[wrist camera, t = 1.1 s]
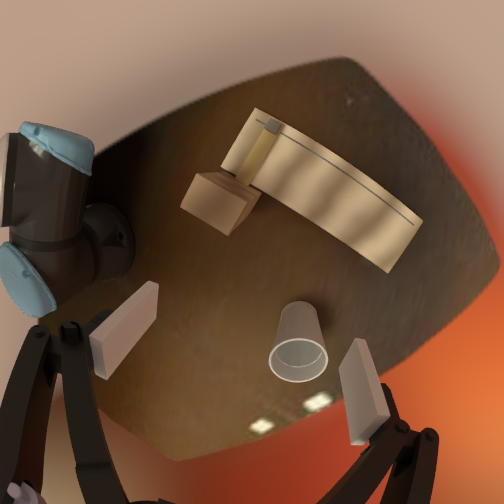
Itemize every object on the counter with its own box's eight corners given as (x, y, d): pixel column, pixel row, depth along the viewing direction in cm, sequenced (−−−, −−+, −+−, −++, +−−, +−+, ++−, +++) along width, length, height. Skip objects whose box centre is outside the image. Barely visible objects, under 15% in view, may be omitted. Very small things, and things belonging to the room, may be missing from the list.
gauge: (216, 194, 41) (179, 206, 28) (261, 115, 36) (245, 89, 23) (249, 213, 41) (227, 235, 28) (297, 134, 37) (298, 116, 23)
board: (224, 166, 40) (220, 166, 38) (257, 110, 36) (255, 107, 34) (384, 268, 40) (387, 273, 38) (418, 218, 37) (423, 221, 35)
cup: (327, 301, 44) (335, 343, 32) (314, 339, 46) (317, 385, 35) (281, 292, 44) (275, 333, 33) (271, 331, 47) (263, 376, 36)
